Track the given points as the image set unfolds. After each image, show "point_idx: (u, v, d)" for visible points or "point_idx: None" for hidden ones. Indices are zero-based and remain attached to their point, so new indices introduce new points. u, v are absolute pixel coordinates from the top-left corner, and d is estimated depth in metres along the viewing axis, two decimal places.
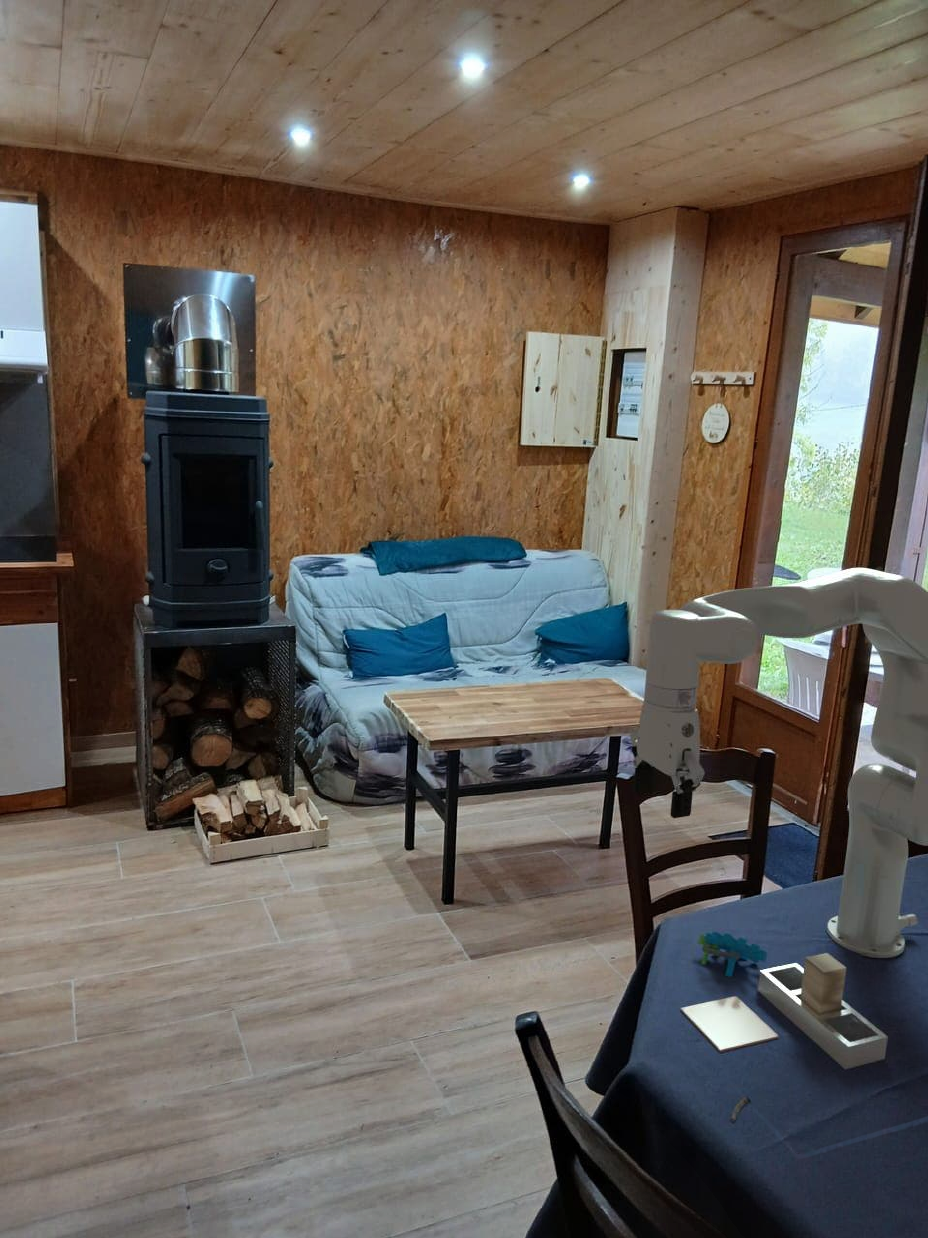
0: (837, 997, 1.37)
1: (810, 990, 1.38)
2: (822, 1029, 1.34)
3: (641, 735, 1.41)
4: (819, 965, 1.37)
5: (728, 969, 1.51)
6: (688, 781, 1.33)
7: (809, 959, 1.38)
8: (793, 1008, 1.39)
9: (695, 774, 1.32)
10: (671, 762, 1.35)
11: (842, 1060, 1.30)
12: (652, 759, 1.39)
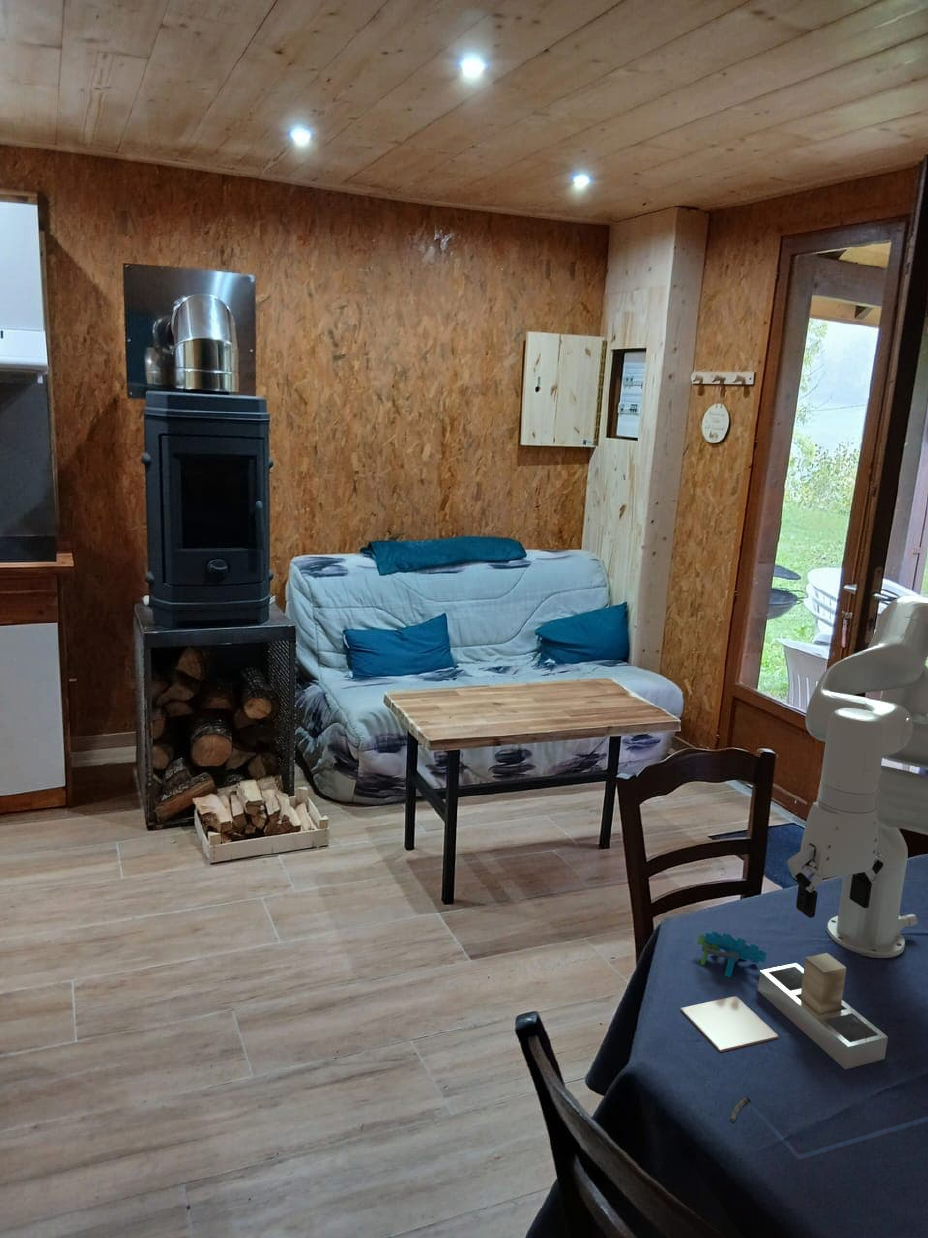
0: (837, 997, 1.37)
1: (810, 990, 1.38)
2: (822, 1029, 1.34)
3: (834, 853, 1.30)
4: (819, 965, 1.37)
5: (727, 969, 1.51)
6: (881, 863, 1.36)
7: (809, 959, 1.38)
8: (793, 1008, 1.39)
9: (886, 853, 1.36)
10: (874, 856, 1.33)
11: (842, 1060, 1.30)
12: (849, 868, 1.32)
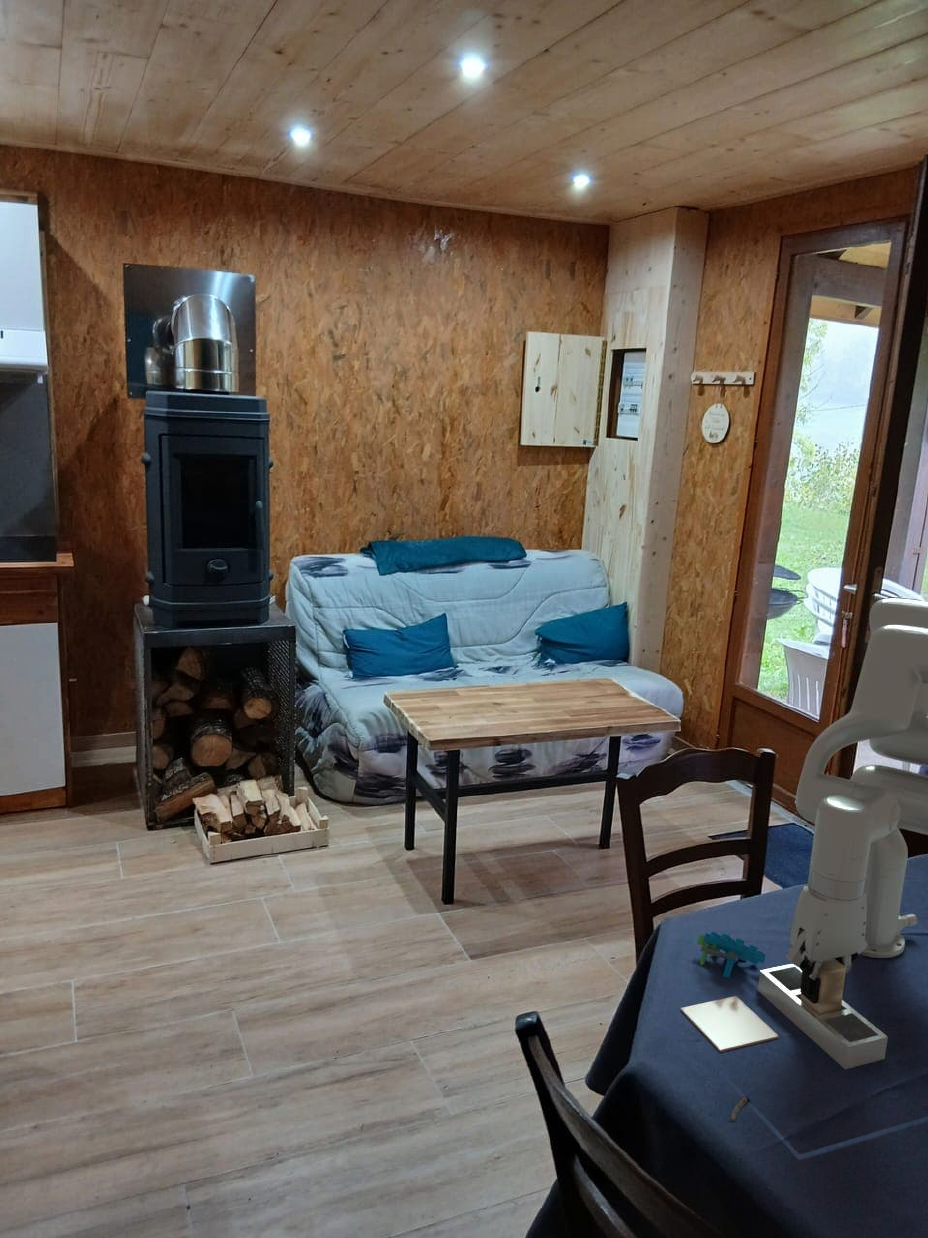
0: (837, 997, 1.37)
1: None
2: (822, 1029, 1.34)
3: (823, 938, 1.33)
4: None
5: (726, 970, 1.51)
6: (855, 954, 1.38)
7: None
8: (793, 1008, 1.39)
9: (864, 947, 1.39)
10: (863, 939, 1.36)
11: (842, 1060, 1.30)
12: (838, 951, 1.35)
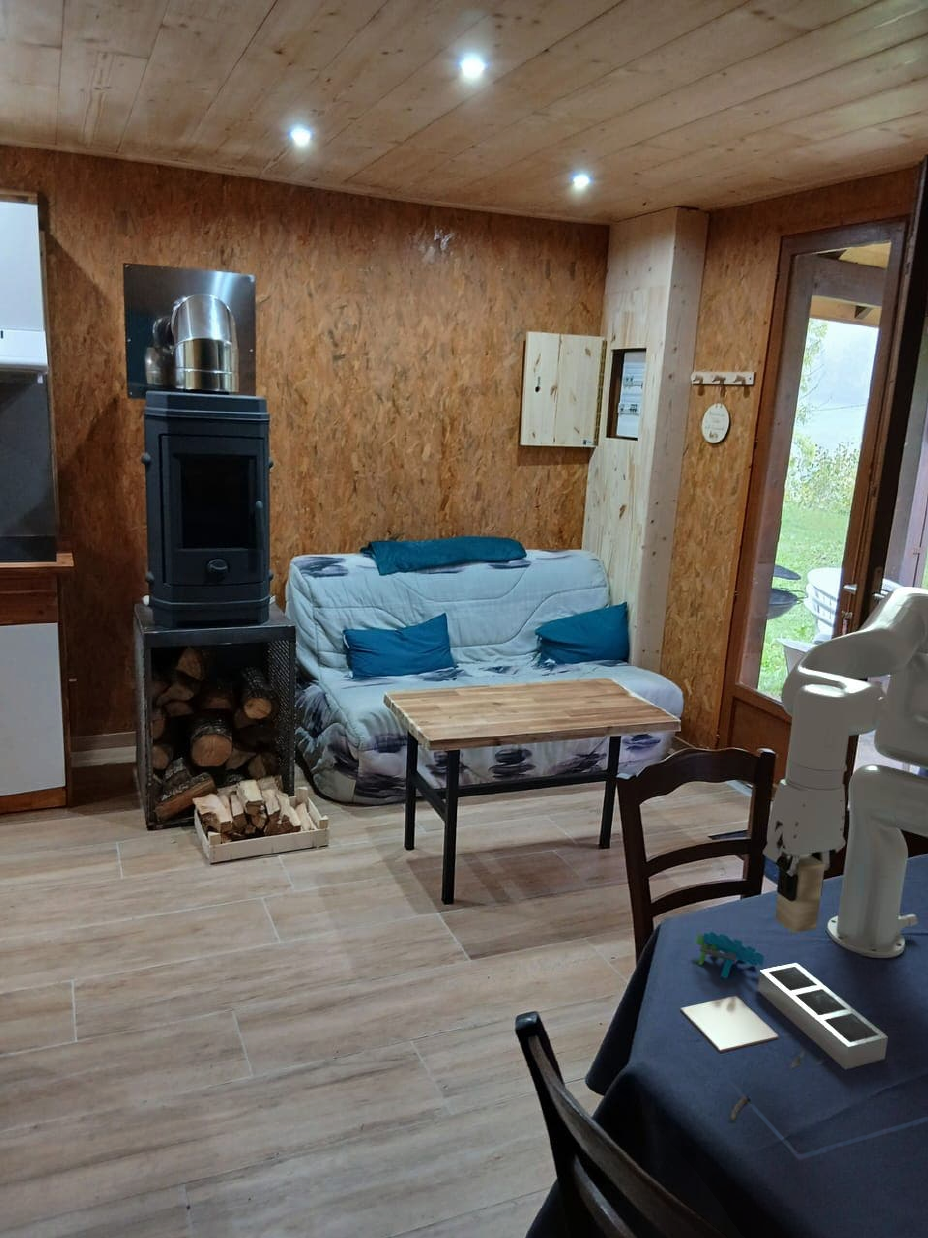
0: (815, 895, 1.33)
1: None
2: (822, 1029, 1.34)
3: (801, 831, 1.29)
4: None
5: (724, 970, 1.51)
6: (834, 851, 1.34)
7: None
8: (793, 1008, 1.39)
9: (842, 845, 1.35)
10: (841, 834, 1.33)
11: (842, 1060, 1.30)
12: (816, 846, 1.31)
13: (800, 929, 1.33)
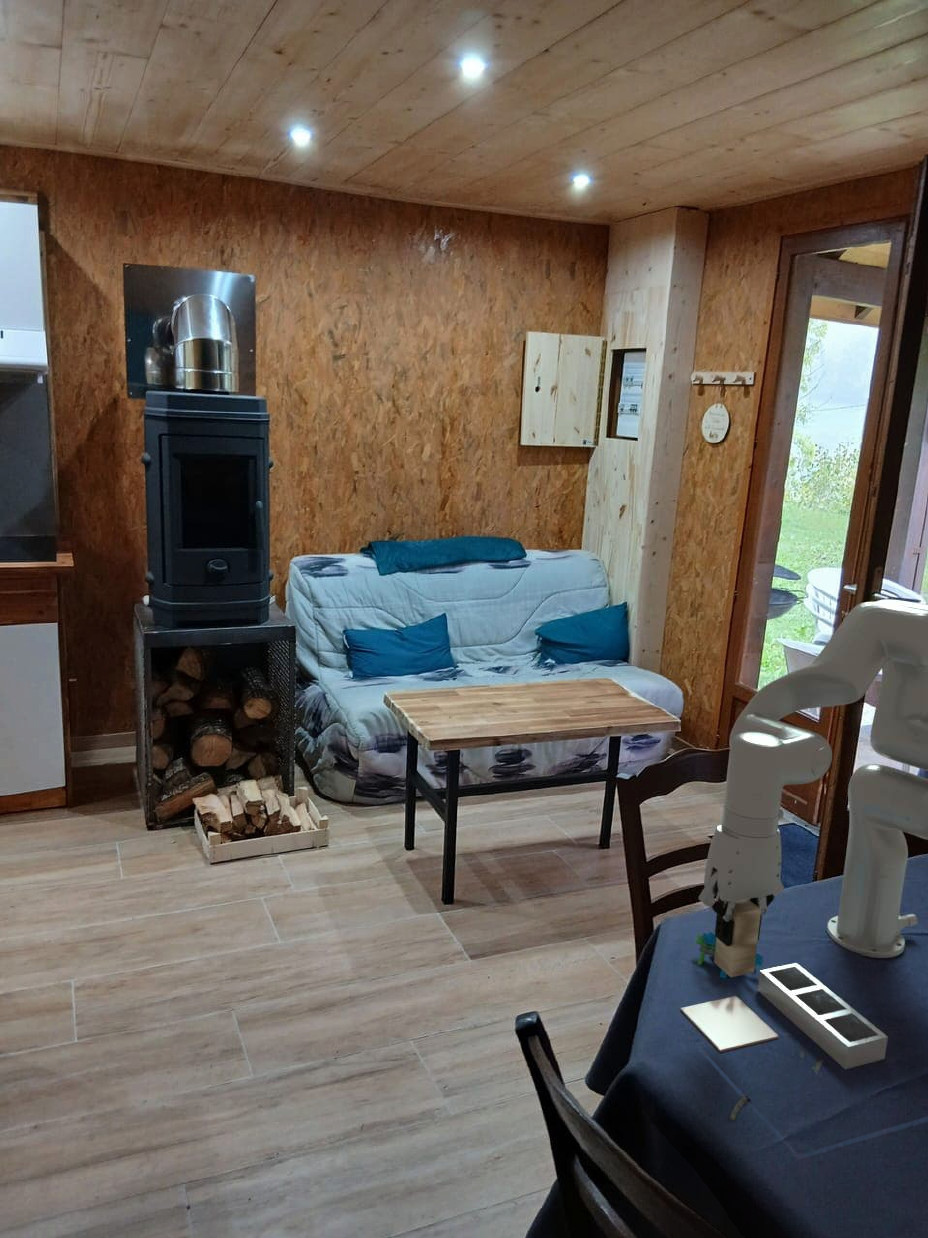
0: (752, 939, 1.34)
1: None
2: (822, 1029, 1.34)
3: (735, 878, 1.30)
4: None
5: (722, 970, 1.51)
6: (771, 896, 1.35)
7: None
8: (793, 1008, 1.39)
9: (780, 890, 1.36)
10: (778, 880, 1.33)
11: (842, 1060, 1.30)
12: (752, 892, 1.32)
13: (737, 973, 1.34)
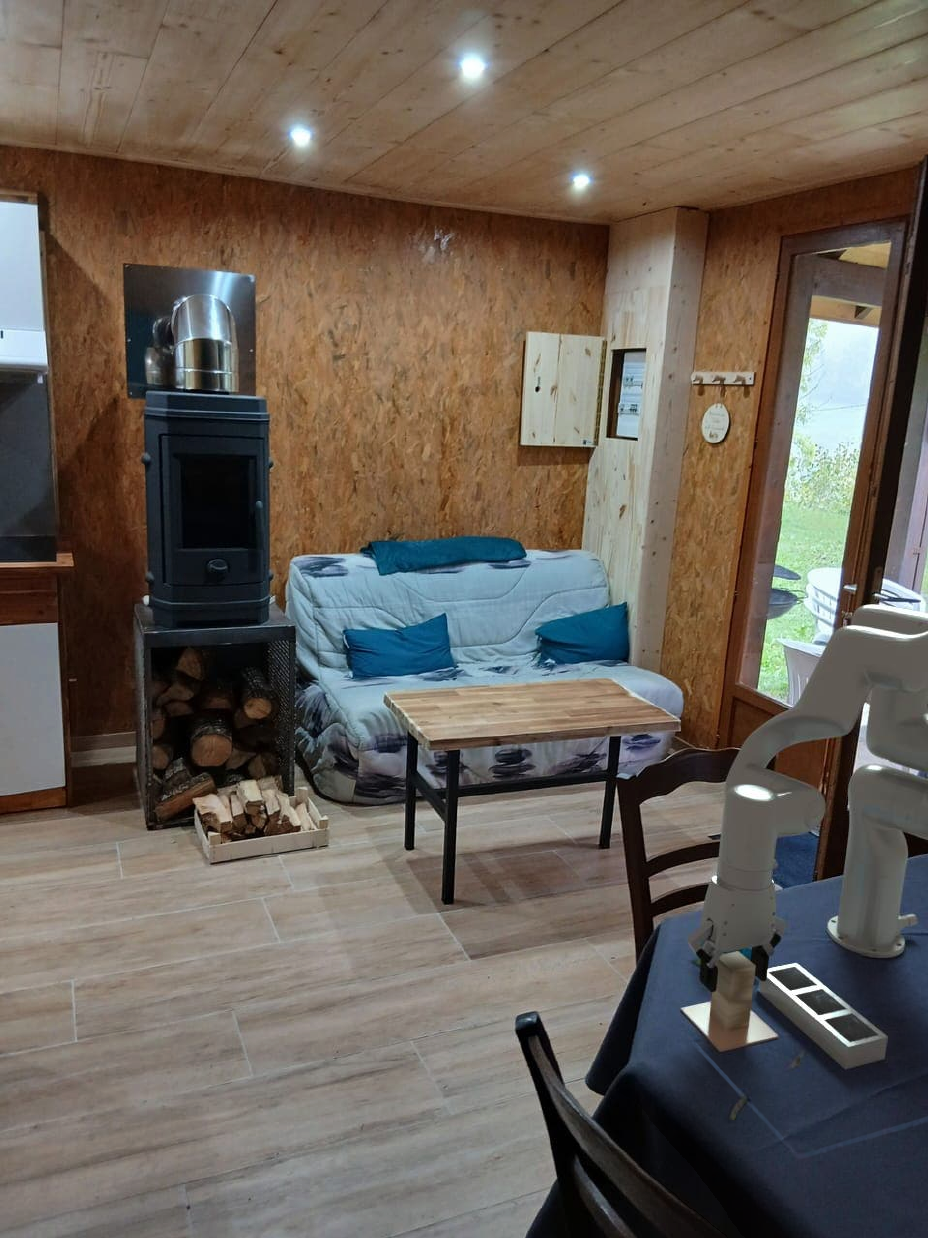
0: (747, 995, 1.36)
1: (720, 989, 1.37)
2: (822, 1029, 1.34)
3: (730, 929, 1.32)
4: (728, 963, 1.36)
5: None
6: (778, 937, 1.38)
7: None
8: (793, 1008, 1.39)
9: (785, 927, 1.38)
10: (772, 929, 1.35)
11: (842, 1060, 1.30)
12: (747, 942, 1.34)
13: (732, 1028, 1.37)
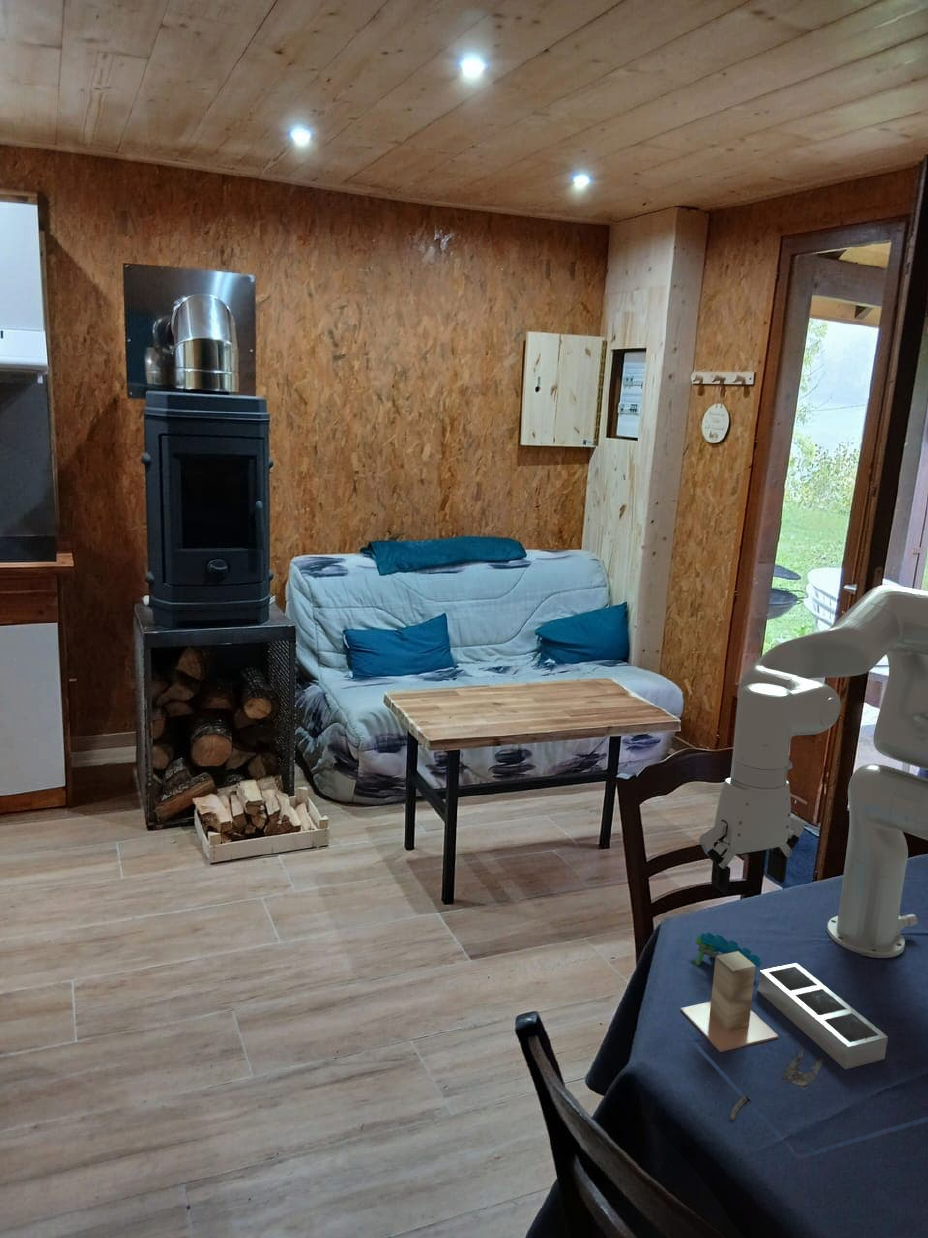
0: (747, 995, 1.36)
1: (720, 989, 1.37)
2: (822, 1029, 1.34)
3: (745, 829, 1.30)
4: (728, 963, 1.36)
5: None
6: (796, 838, 1.36)
7: (719, 957, 1.37)
8: (793, 1008, 1.39)
9: (802, 827, 1.36)
10: (788, 831, 1.33)
11: (842, 1060, 1.30)
12: (762, 843, 1.32)
13: (732, 1028, 1.37)
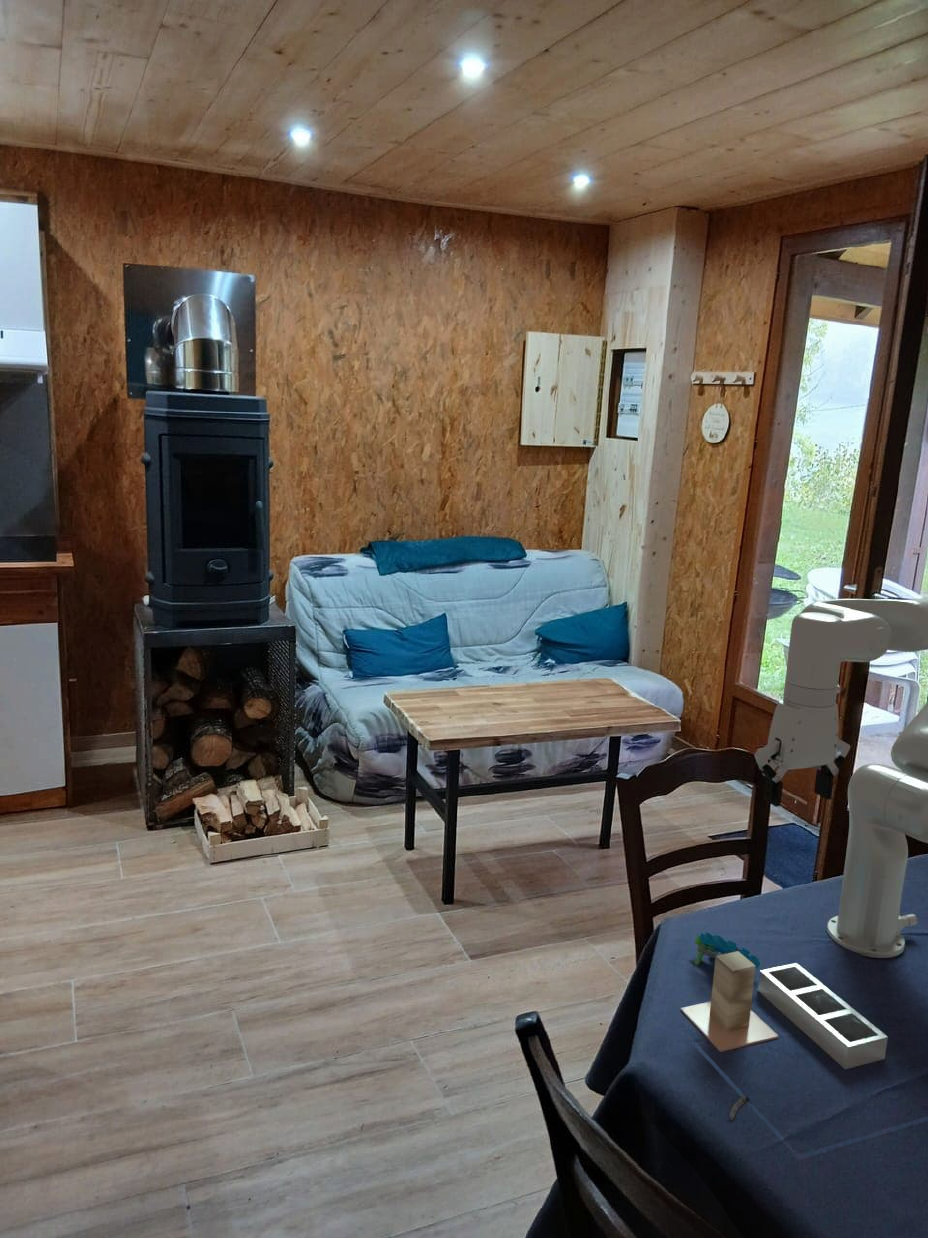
0: (747, 995, 1.36)
1: (720, 989, 1.37)
2: (822, 1029, 1.34)
3: (797, 745, 1.41)
4: (728, 963, 1.36)
5: None
6: (842, 758, 1.47)
7: (719, 957, 1.37)
8: (793, 1008, 1.39)
9: (847, 748, 1.47)
10: (835, 750, 1.44)
11: (842, 1060, 1.30)
12: (812, 760, 1.43)
13: (732, 1028, 1.37)
